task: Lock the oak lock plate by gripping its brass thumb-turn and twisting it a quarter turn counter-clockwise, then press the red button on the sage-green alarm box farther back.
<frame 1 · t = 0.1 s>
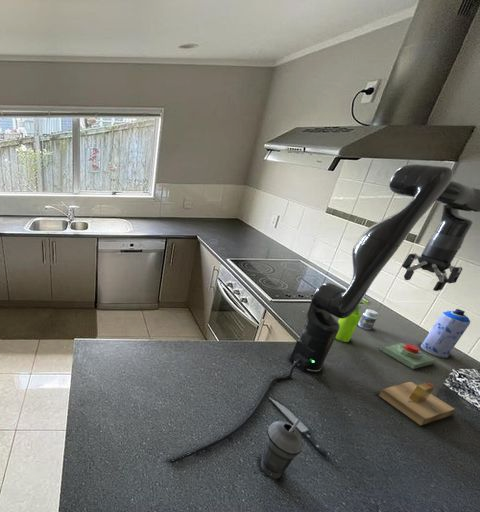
hand: (420, 284, 107), 29 cm above the worktop, tool pointing down, fingers open, 8 cm apart
beverage cup: (270, 468, 72), on the worktop
alarm button: (411, 348, 110), point 5 cm above the worktop, slide at 0.2 cm
soap dispenser: (341, 338, 122), on the worktop
pill bottle: (364, 326, 130), on the worktop
lock plate: (413, 405, 91), on the worktop
aerosol can: (433, 351, 116), on the worktop
lock knob: (422, 392, 89), point 6 cm above the worktop, hinge at 0.0°
alarm box: (406, 357, 112), on the worktop
chef's knife: (297, 424, 83), on the worktop
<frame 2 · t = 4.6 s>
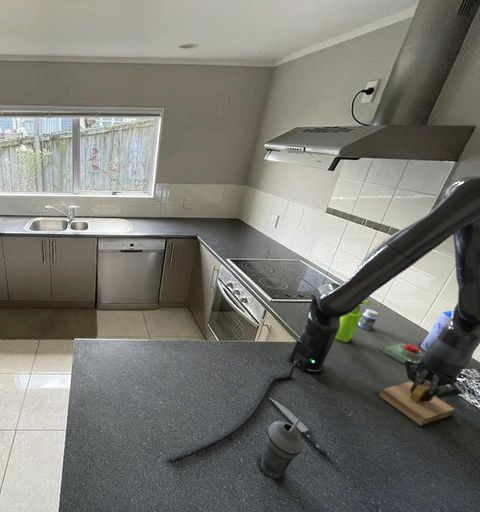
hand: (418, 397, 90), 4 cm above the worktop, tool pointing down, fingers closed on lock knob, 2 cm apart
lock knob: (422, 392, 89), point 6 cm above the worktop, hinge at 0.1°, touching gripper
everything else where it was.
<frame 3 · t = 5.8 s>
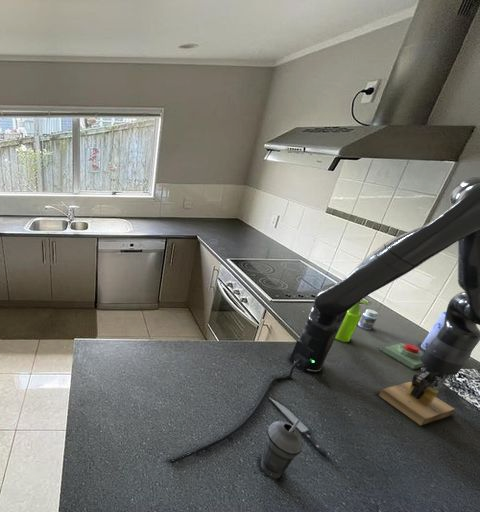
hand: (417, 395, 90), 4 cm above the worktop, tool pointing down, fingers closed on lock knob, 2 cm apart
lock knob: (422, 392, 89), point 6 cm above the worktop, hinge at 91.6°, touching gripper
everything else where it was.
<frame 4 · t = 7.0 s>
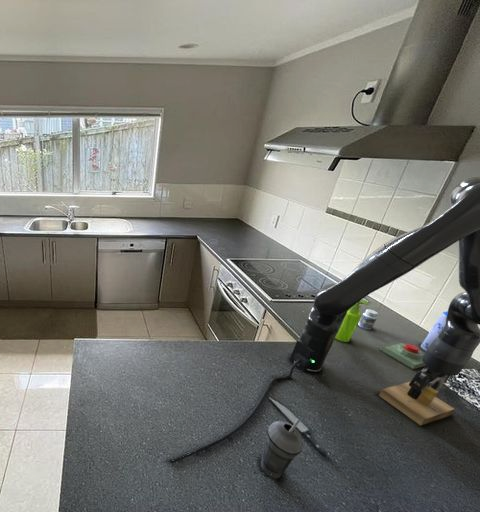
hand: (420, 393, 89), 5 cm above the worktop, tool pointing down, fingers open, 8 cm apart
lock knob: (422, 392, 89), point 6 cm above the worktop, hinge at 91.3°
everything else where it was.
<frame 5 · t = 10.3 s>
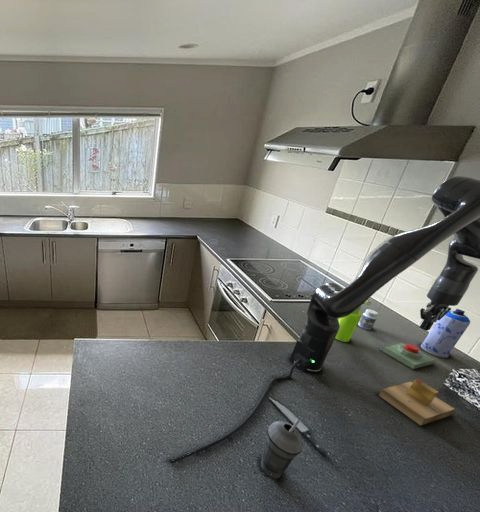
hand: (424, 328, 106), 14 cm above the worktop, tool pointing down, fingers closed
nothing on the worktop moved.
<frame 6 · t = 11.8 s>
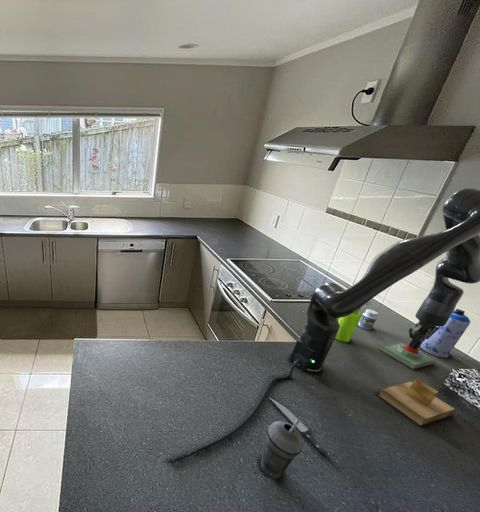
hand: (413, 347, 110), 5 cm above the worktop, tool pointing down, fingers closed
alarm button: (411, 348, 110), point 4 cm above the worktop, slide at 0.0 cm, touching gripper
everything else where it was.
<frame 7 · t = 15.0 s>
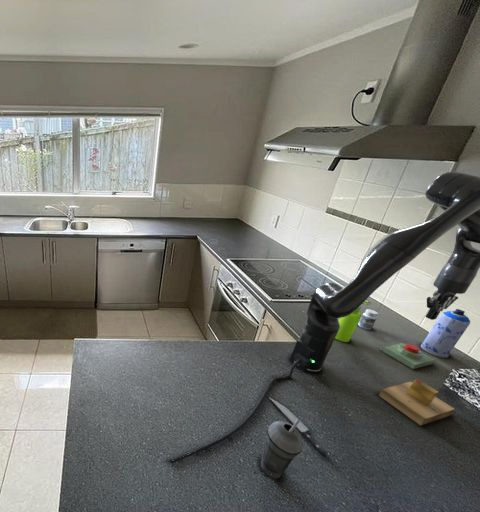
hand: (430, 318, 104), 19 cm above the worktop, tool pointing down, fingers closed
alarm button: (411, 348, 110), point 5 cm above the worktop, slide at 0.1 cm
everything else where it was.
at the end: lock knob at +91° (first picture: +0°); alarm button pushed in 1.1 cm at the most during the clip, back to where it started at the end; alarm button slide at 0.1 cm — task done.
